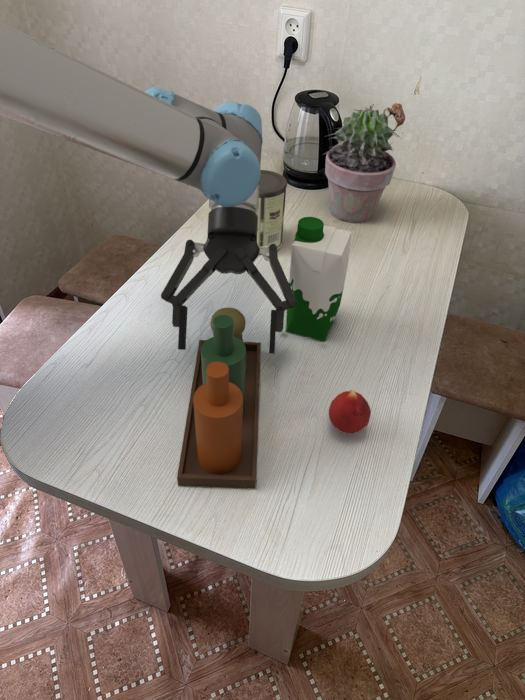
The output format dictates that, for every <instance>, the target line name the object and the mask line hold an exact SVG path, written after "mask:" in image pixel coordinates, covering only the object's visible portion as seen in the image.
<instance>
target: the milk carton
mask: <svg viewBox="0 0 525 700" xmlns="http://www.w3.org/2000/svg"><path fill="white" fill-rule="evenodd" d="M296 228H297V229H296V232H295V235H294V239H293V240H292V244H291V251H290V252H291V253H290V254H291V255H290V266H289V274H288V275H289V276H288V283H289V285H290V287H291V289H292V292H293V294H294V296H295V298H296V301H297V303H296V305H295V306H294V307H293V308H289V309H286V321H285V332H286V333H290V334H292V335H293V334H294V335H297V336H301V337H305V338H310V339H313V340H318V341H321V342H326V340H327V338H328V335H329V333H330V331H331V328H332V326H333V324H334V322H335V319H336V318H337V315H338V312H339V309H340V306H341V303H342V297H343V292H344V287H345V283H346V278H347V277H346V276H347V271H348V266H349V259H350V251H351V249H350V248H351V241H352V231H350V230H345V229H341V228H337V227H336V226H332V225H325V224H324V221H322V219H320V218H318V217H316V216H315V217H314V216H304V217H301V218H299V219H298V221H297V227H296Z"/></svg>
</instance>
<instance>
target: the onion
mask: <svg viewBox="0 0 525 700" xmlns="http://www.w3.org/2000/svg"><path fill="white" fill-rule="evenodd" d="M371 412H372V411H371V407H370V404H369V402H368V401H367V400H366V398H365V397H364V396H363V394H361V393H359V392H358V391H354V389H349V390H347V391H346V390H345V391H343V392H340V393H338V394H337V395H336V396H335V397H334V398H333V399H332V400H331V402H330V403H329V407H328V418H329V421H330V422H331V424H332V425H333V427H334V428H335V429H336V430H337V431H339V432H341V433H343V434H347V435H349V434H350V435H351V434H352V435H353V434H356V433H359V432H361V431H363V430H364V429H365V428H366V427H367V426H368V424H369V423H370V419H371Z"/></svg>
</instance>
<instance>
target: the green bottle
mask: <svg viewBox="0 0 525 700" xmlns="http://www.w3.org/2000/svg"><path fill="white" fill-rule="evenodd" d="M205 340H206V341H205V342H204V343H203V345H202V347H201V363H202V380H203V384H204V383H207V381H206V368H207V366H208V365H209V364H210V363H212V362H223V363H225V364H226V365H227V366H228V368H229V382H231V383H233V384H235V385H236V386H237V387H238V388H239V389H240V390H241V392H242V395H243V412H244V406H245V370H246V347H245V345H244V343H243V342H244V341H243V342H242V341H241V340H240V339H238V338H236V337H234V336H233V319H232V318H231V317H230V316H228V315H218V316H216V317H215V318H214V319H213V331H212V336H211V337H209V338H208V339H205Z"/></svg>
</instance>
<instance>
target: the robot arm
mask: <svg viewBox="0 0 525 700" xmlns="http://www.w3.org/2000/svg"><path fill="white" fill-rule="evenodd" d="M0 116H1V117H4V118H7V119H9V120H12V121H14V122H17V123H19V124H20V123H21V124H22V125H25V126H28V127H30V128H34V129H37V130H39V131H42V132H44V133H47V134H50V135H53V136H55V137H58V138H60V139H64V140H66V141H69V142H72V143H74V144H77V145H79V146H82V147H85V148H88V149H90V150H94V151H95V152H98V153H101V154H104V155H107V156H110V157H112V158H115V159H118V160H120V161H123V162H125V163H128V164H130V165H131V164H132V165H133V166H137V167H138V168H142V169H145V170H147V171H150V172H153V173H156V174H159V175H161V176H164V177H167V178H169V179H172V180H175V181H177V182H179V183H182V184H185V185H187V186H190V187H192V188H195V189H196V190H199V191H201V192H202V194H203V195H204V197H206V198H207V199H208V201H209V202H208V208H209V209H210V211H209V212H208V216H207V217H208V218H207V237H206V241H205V243H201V242H195V241H194V240H192V239H187V240H186V242H185V245H184V252H183V255H182V256H181V259H180V260H179V262H178V263H177V265H176V267H175V268H174V271H173V273H172V274H171V276H170V278H169V279H168V281H167V283H166V285H165V286H164V288H163V290H162V292H161V294H160V298H161V300H162V301H165V302H166V303H170V304H171V305H172V318H171V319H172V320H171V324H172V327H174V328H178V340H177V350H181V351H182V350H183V351H186V348H187V329H188V328H187V327H188V306H187V305H185V303H186V302H187V301H188V300H189V299H190V298H191V296H192V295H194V294H195V292H197V290H198V289H199V288H200V287H201V286H202V285H203V284H204V283H205V282H206V280H208V278H209V277H210V276H212V275H213V274H214V273H215V272H217V273H220V274H222V275H226V274H234V275H242V274H244V273H247V275H249V277H250V278H251V279H252V280H253V281H254V283H255V284H256V286H258V288H259V289H260V290H261V292H262V293H263V294H264V296H265V297H266V299H268V300H269V302H270V303H271V304H272V306H273V307H274V309H271V310H270V327H269V345H268V354H270V355H275V353H276V333H282V332H283V331H284V324H285V323H284V321H285V311H287V309H289V308H293V307H294V306H295V305H296V303H297V301H296V298H295V296H294V294H293V292H292V289H291V287H290V285H289V279H287V276H286V274H285V272H284V270H283V267H282V265H281V262H280V260H279V255H278V250H277V246H276V245H275V244H271V245H270V246H264V247H259V246H258V244H257V228H258V216H257V214H256V212H257V211H258V205H259V186H260V185H259V181H260V174H261V170H262V169H261V164H262V148H263V143H264V142H263V124H262V121H263V120H262V116H261V113H260V112H259V111H258V110H257V109H256V108H255V107H253V106H252V105H250V104H247V103H239V102H237V101H230V102H224V103H222V104H219V105H218V106H217V107H216V108H215V110H212V109H211V108H208V107H206V106H203V105H201V104H198V103H196V102H195V101H192V100H189V99H187V98H185V97H183V96H181V95H179V94H176V92H174V91H169V90H167V89H163V88H160V87H157V86H152V87H149V88H147V89H146V90H145V91H144V90H141V89H140V88H138V87H136V86H134V85H131V84H129V83H127V82H125V81H124V80H121V79H119V78H117V77H115V76H113V75H111V74H109V73H106V72H105V71H102V70H100V69H98V68H97V67H94V66H93V65H90V64H88V63H86V62H84V61H81V60H80V59H78V58H76V57H74V56H72V55H70V54H67V53H65V52H63V51H62V50H59V49H57V48H56V47H53V46H51V45H49V44H47V43H45V42H43V41H41V40H39V39H37V38H35V37H32V36H30V35H28V34H26V33H24V32H22V31H20V30H18V29H17V28H14V27H12V26H10V25H8V24H6V23H3V22H2V21H0ZM203 252H204V254H205V256H206V257H207V259H208V260H207V261H206V262H205V263H204V264H203V265H202V267H201V269H200V270H199V271H197V273H195V275H193V277H192V278H191V279H190V280H189V281H188V282H187V283H186V285H184V287H182V288H181V290H179V292H178V293H176V292H177V290H178V289H179V286H180V285H181V283H182V282H183V280H184V279H185V276H186V274H187V272H188V271H189V269H190V267H191V265H192V264H193V261H194V259H195V258H197V257H199V256H200V254H201V253H203ZM259 254H260V255H261V256H262V257H263V259H264V260H265V261H266V262H269V266H270V269H271V271H272V273H273V275H274V277H275V280H276V282H277V284H278V286H279V288H280V291H281V293H282V296H283V297H284V300H282V299H281V298H280V296H279V294H277V292H276V291H275V290H274V288H272V285H270V283H269V282H268V281H267V279H266V278H265V277H264V276H263V275H262V273H261V271H260V270H259V269H258V268H257V266H256V265H255V264H254V262H255V261H256V260H257V258H259V256H260V255H259Z"/></svg>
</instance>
